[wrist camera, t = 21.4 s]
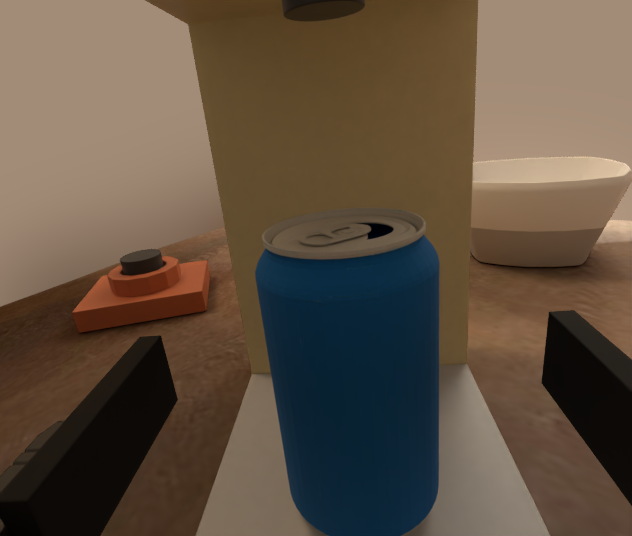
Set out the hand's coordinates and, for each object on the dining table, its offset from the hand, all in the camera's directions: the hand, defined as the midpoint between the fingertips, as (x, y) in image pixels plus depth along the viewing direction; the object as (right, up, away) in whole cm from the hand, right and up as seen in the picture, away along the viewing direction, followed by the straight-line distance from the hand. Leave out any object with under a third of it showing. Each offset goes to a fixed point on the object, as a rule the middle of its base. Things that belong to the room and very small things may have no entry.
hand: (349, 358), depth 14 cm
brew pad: (-19, -1, +31) cm, 36 cm away
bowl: (+23, +5, +34) cm, 42 cm away
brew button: (-19, +3, +30) cm, 35 cm away
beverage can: (+1, -7, +4) cm, 8 cm away
